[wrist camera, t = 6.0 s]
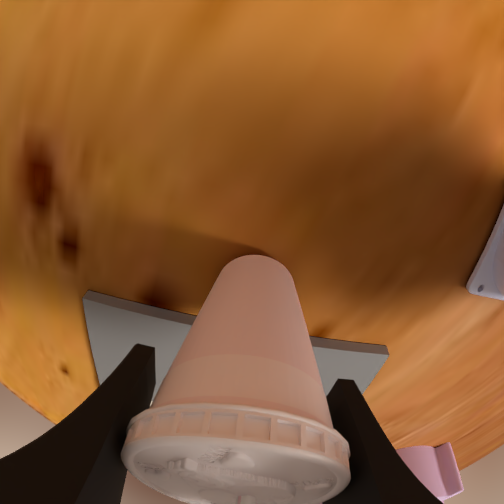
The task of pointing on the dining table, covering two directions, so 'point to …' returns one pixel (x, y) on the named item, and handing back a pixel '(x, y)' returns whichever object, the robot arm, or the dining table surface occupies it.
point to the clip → (434, 469)
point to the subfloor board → (177, 327)
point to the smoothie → (242, 403)
